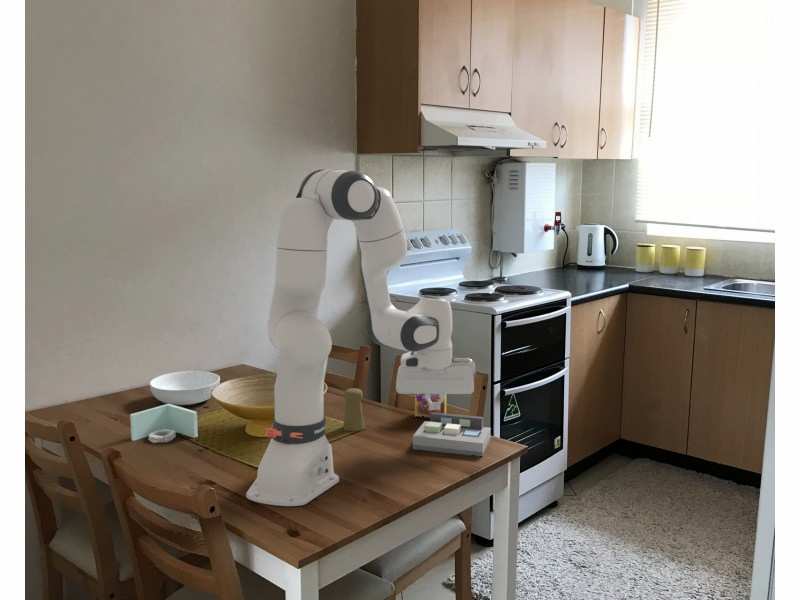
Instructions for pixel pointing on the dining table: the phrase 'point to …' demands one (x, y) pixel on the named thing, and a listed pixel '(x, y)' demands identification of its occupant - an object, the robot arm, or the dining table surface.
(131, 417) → the l-shaped corner panel
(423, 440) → the keypad
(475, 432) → the blue key
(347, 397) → the olive pepper shaker
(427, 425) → the green key
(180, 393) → the serving bowl
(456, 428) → the cream key
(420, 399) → the candy box
